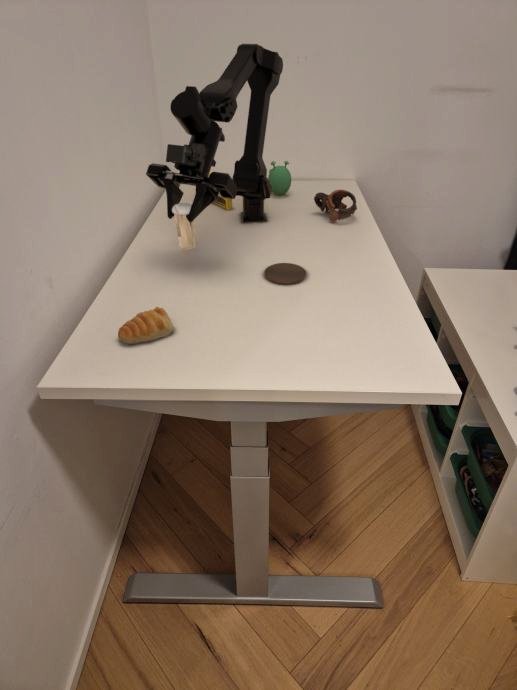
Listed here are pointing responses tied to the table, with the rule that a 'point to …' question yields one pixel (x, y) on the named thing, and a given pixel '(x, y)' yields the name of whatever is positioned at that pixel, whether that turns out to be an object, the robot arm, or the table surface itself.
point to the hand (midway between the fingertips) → (179, 219)
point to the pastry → (146, 327)
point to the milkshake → (184, 225)
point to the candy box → (223, 201)
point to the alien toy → (279, 178)
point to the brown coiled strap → (336, 204)
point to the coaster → (285, 273)
